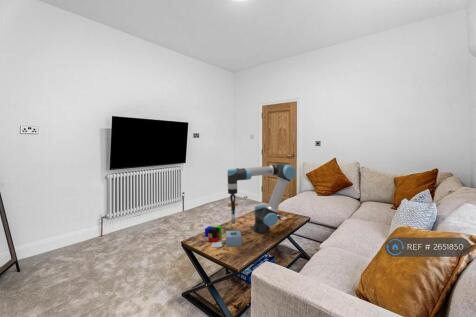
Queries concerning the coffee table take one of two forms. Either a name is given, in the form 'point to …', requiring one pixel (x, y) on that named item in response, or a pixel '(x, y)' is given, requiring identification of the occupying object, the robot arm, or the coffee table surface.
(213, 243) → the tool mat
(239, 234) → the block
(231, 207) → the chuck key
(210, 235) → the puzzle toy
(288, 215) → the coffee table surface
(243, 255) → the coffee table surface
